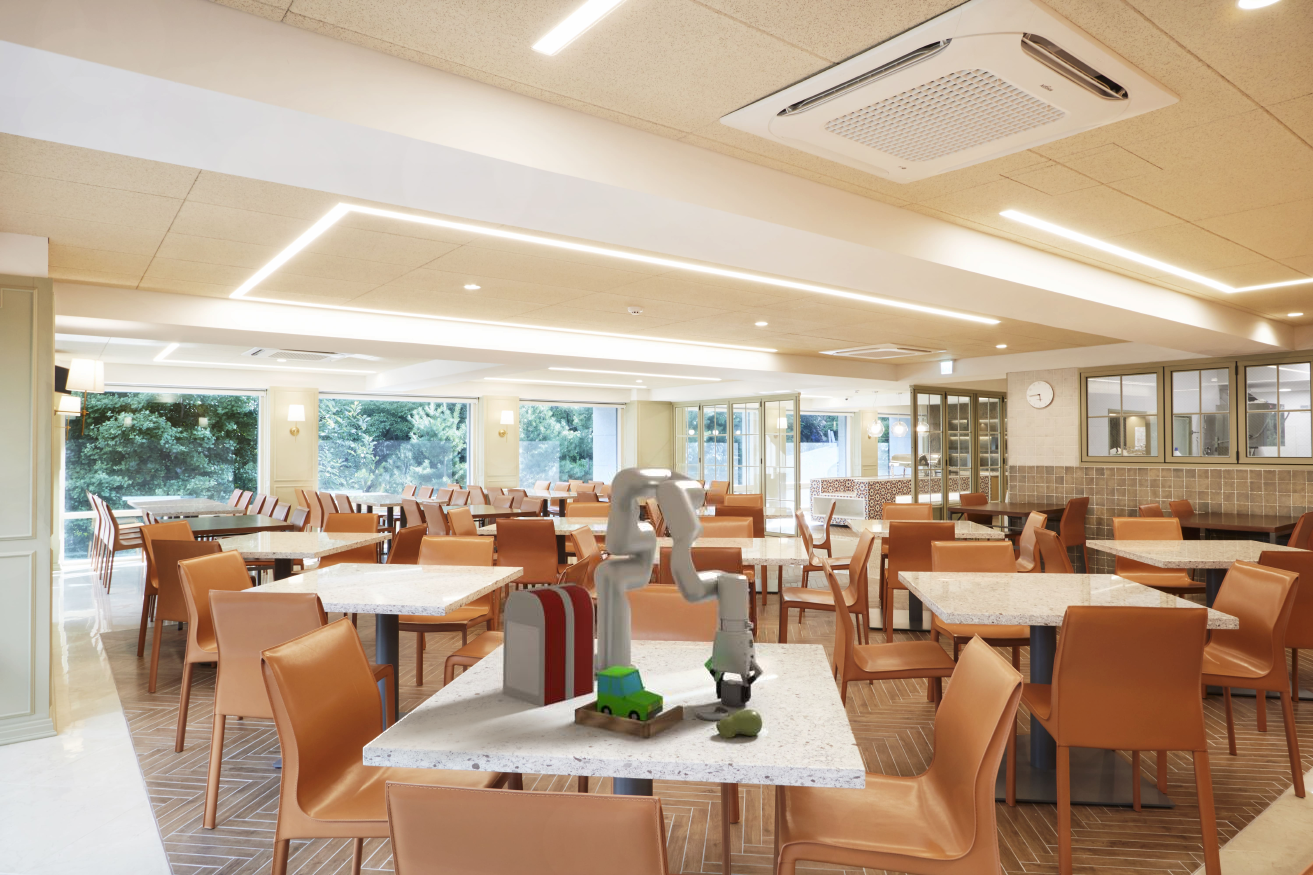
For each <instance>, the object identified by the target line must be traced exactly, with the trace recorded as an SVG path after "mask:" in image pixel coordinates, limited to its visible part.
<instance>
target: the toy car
mask: <svg viewBox="0 0 1313 875" xmlns="http://www.w3.org/2000/svg"><path fill="white" fill-rule="evenodd" d="M596 677H597V678H596V680H597V681H596V682H597V685H596V686H597V688H596V689H597V691H596V692H597V693H596V694H597V695H596V697H597V698H596V700H597V712H600V713H604V714H609V715H614V716H619V717H624V718H629V719H633V720H638V721H643V722H646V721H648V720H650V719H652V718H654V716H655V717H656V716H658V714H659V715H660V713H663V711H664V696H663V695H660V694H657V693H655V692H652V691H649V690H647V689H646V686H645V685H644V683H643V681H642V678H641V674H640V670H639V668H636V669H635V668H628V667H622V666H614V667H612V668H609V669H607V670H604V671H602V672H599V673H597V676H596Z"/></svg>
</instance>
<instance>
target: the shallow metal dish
mask: <svg viewBox="0 0 1313 875" xmlns="http://www.w3.org/2000/svg"><path fill="white" fill-rule="evenodd" d="M729 711H730V710H728V709H727V708H726V707H725V708H724V707H722V706H714V705H713V706H702V707H699V708H697V709H696V710H695V717H696V718H697V719H699V720H702V721H706V722H707V721H708V722H709V721H710V722H720V720H721V719H723V718H725V717H730V715H729Z"/></svg>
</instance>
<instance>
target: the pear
mask: <svg viewBox="0 0 1313 875" xmlns="http://www.w3.org/2000/svg"><path fill="white" fill-rule="evenodd" d="M715 727H716V730H717V732H718V734H719V735H720V736H721V739H725V740H726V739H731V738H733V737H734V736H735V735H737V734H738V735H739V734H741V735H744V736H747V737H748V736H749V737H752V736H756V735H758V734H759V733H760V732H761V730H762V728H763V719H762V716H761V715H760V713H759V712H757V711H756V710H754V709H743V710H740V711H739V710H738V711H737V712H735V713H733V714H732V715H729V717H725V718H723V719H721V720H720V721H717V722H716V724H715Z"/></svg>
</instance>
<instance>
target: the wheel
mask: <svg viewBox="0 0 1313 875" xmlns="http://www.w3.org/2000/svg"><path fill="white" fill-rule="evenodd" d="M724 680H725V681H722V682H721V699H720V705H721V706H723V707H725V708H735V709H737V708H743V707H745V706H746V705H747V704H746V703H747V702H746V703H745V704H744V703H742V686H743V681H742V680H738V679H735V678H734V679H733V678H732V679H731V678H730V679H724Z"/></svg>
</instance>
